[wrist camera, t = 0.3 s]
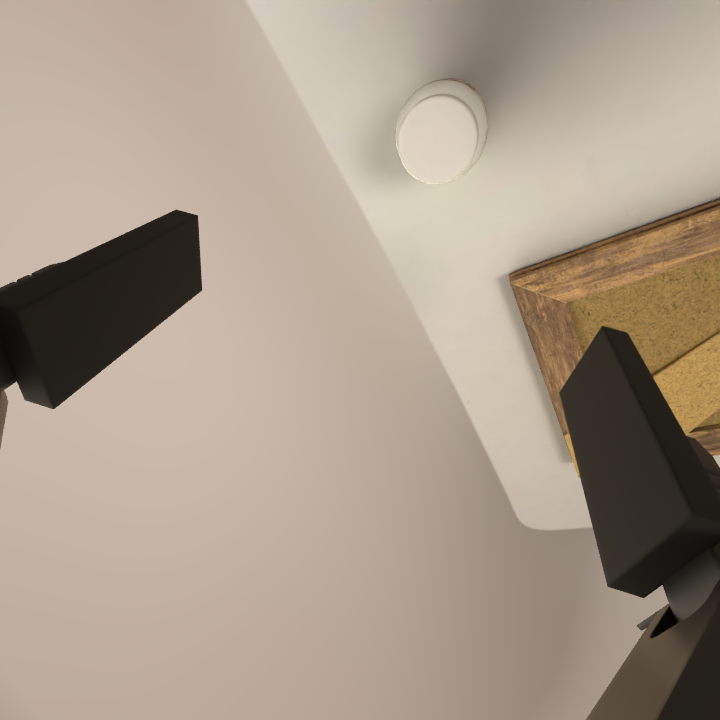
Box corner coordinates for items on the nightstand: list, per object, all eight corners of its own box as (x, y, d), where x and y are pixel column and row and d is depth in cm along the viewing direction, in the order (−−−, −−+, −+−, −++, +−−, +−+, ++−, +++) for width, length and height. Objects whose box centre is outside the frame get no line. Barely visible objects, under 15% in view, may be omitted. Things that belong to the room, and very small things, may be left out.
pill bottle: (469, 60, 22) (467, 56, 16) (496, 143, 24) (504, 167, 18) (396, 105, 24) (368, 117, 18) (425, 178, 26) (410, 212, 20)
